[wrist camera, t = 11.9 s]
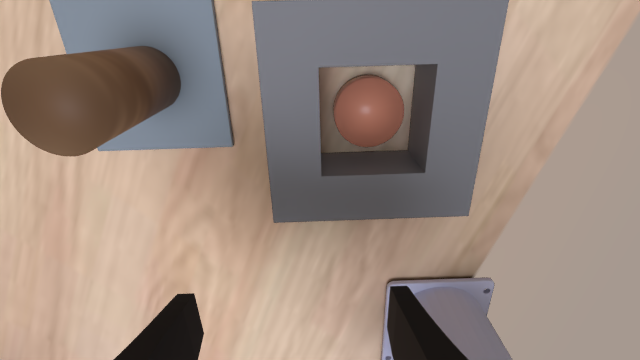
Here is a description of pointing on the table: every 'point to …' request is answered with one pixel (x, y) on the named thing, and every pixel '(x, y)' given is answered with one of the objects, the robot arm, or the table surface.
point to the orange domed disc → (368, 111)
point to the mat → (174, 41)
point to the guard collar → (426, 116)
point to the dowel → (87, 96)
